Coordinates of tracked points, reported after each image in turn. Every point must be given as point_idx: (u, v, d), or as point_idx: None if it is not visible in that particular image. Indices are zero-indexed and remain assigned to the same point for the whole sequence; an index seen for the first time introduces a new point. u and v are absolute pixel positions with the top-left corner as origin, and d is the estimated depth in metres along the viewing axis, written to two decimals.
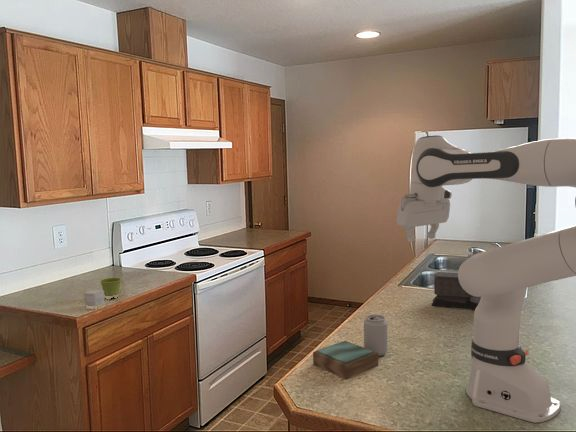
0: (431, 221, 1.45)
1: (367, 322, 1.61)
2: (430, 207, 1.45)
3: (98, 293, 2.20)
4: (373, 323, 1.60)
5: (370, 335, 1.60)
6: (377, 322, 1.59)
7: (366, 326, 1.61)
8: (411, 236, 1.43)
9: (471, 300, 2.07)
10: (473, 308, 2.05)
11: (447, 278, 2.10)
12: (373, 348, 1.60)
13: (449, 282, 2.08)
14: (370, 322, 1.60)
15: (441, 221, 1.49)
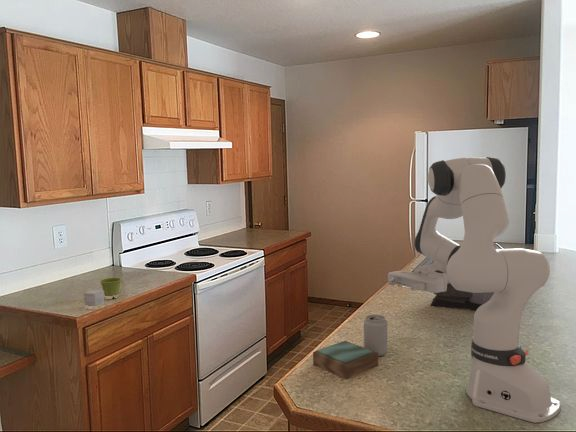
0: (415, 277, 1.72)
1: (367, 322, 1.61)
2: (420, 276, 1.75)
3: (98, 293, 2.20)
4: (373, 323, 1.60)
5: (370, 335, 1.60)
6: (377, 322, 1.59)
7: (366, 326, 1.61)
8: None
9: (470, 300, 2.07)
10: (472, 308, 2.04)
11: None
12: (373, 348, 1.60)
13: None
14: (370, 322, 1.60)
15: (426, 280, 1.68)
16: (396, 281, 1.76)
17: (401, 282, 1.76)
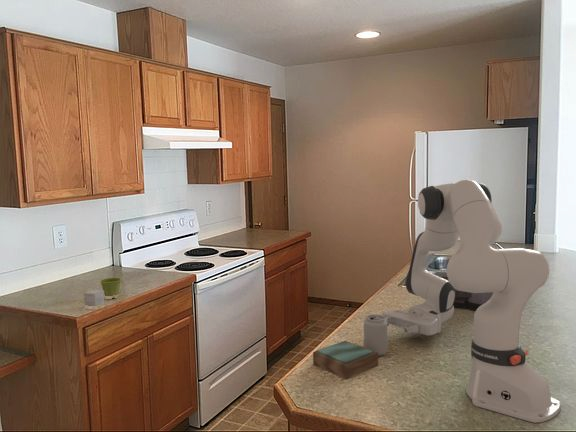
0: (409, 319, 1.71)
1: (367, 322, 1.61)
2: (414, 316, 1.74)
3: (98, 293, 2.20)
4: (373, 323, 1.60)
5: (370, 335, 1.60)
6: (377, 322, 1.59)
7: (366, 326, 1.61)
8: None
9: (469, 300, 2.07)
10: (471, 308, 2.04)
11: (445, 278, 2.10)
12: (373, 348, 1.60)
13: None
14: (370, 322, 1.60)
15: (420, 322, 1.67)
16: (390, 321, 1.76)
17: (395, 322, 1.75)
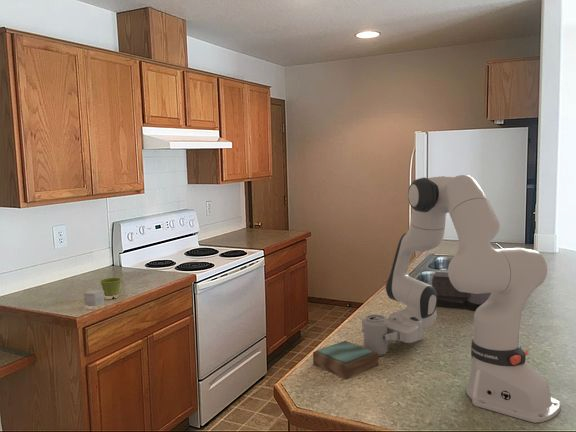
0: (388, 325, 1.65)
1: (367, 322, 1.61)
2: (395, 323, 1.68)
3: (98, 293, 2.20)
4: (373, 323, 1.60)
5: (370, 335, 1.60)
6: (377, 322, 1.59)
7: (366, 326, 1.61)
8: None
9: (469, 300, 2.07)
10: (470, 308, 2.04)
11: (445, 278, 2.10)
12: (373, 348, 1.60)
13: (446, 282, 2.09)
14: (370, 322, 1.60)
15: (400, 329, 1.61)
16: None
17: None
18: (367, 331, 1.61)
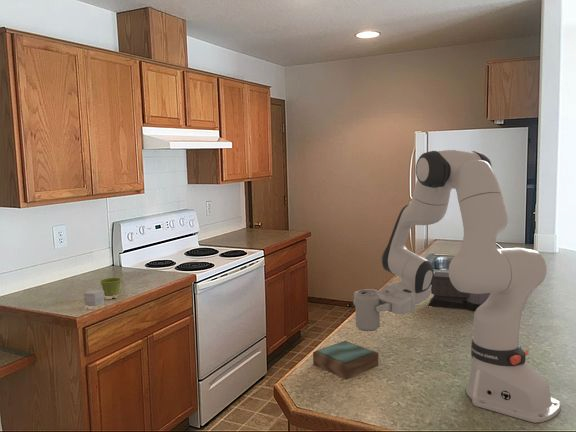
0: (381, 297, 1.61)
1: (359, 296, 1.57)
2: (387, 295, 1.64)
3: (98, 293, 2.20)
4: (365, 297, 1.56)
5: (362, 310, 1.56)
6: (369, 296, 1.56)
7: (358, 301, 1.57)
8: None
9: (468, 300, 2.07)
10: (469, 308, 2.04)
11: (444, 278, 2.10)
12: (365, 323, 1.56)
13: (445, 282, 2.09)
14: (362, 296, 1.57)
15: (392, 301, 1.57)
16: None
17: None
18: (359, 306, 1.57)
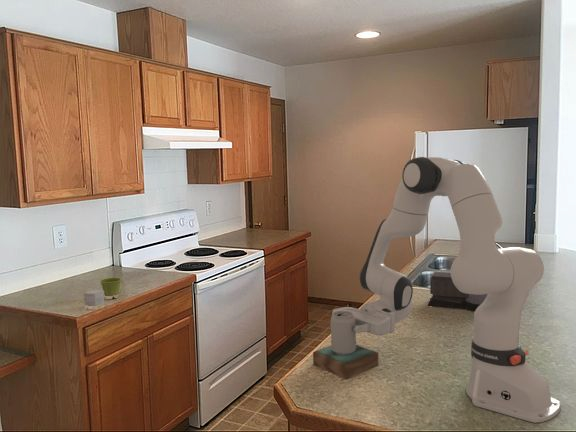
0: (359, 317, 1.55)
1: (334, 319, 1.51)
2: (366, 314, 1.58)
3: (98, 293, 2.20)
4: (340, 320, 1.50)
5: (337, 333, 1.50)
6: (345, 319, 1.50)
7: (333, 323, 1.51)
8: None
9: (467, 300, 2.07)
10: (468, 308, 2.05)
11: (443, 278, 2.10)
12: (341, 347, 1.50)
13: (444, 282, 2.09)
14: (337, 319, 1.51)
15: (370, 321, 1.51)
16: None
17: None
18: (334, 328, 1.51)
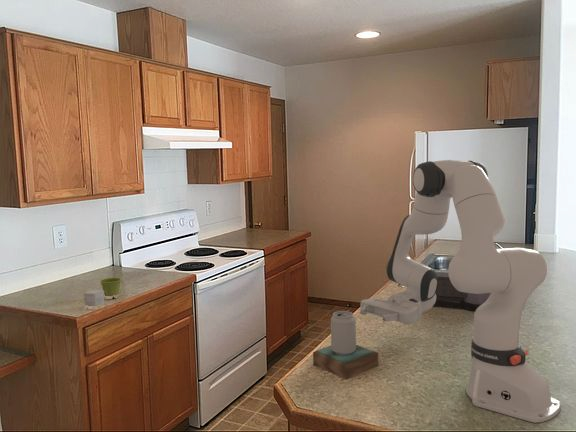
0: (387, 307, 1.63)
1: (334, 319, 1.51)
2: (394, 305, 1.66)
3: (98, 293, 2.20)
4: (340, 320, 1.50)
5: (337, 333, 1.50)
6: (345, 319, 1.50)
7: (333, 323, 1.51)
8: None
9: (465, 300, 2.07)
10: (467, 308, 2.04)
11: (442, 278, 2.10)
12: (341, 347, 1.50)
13: (443, 282, 2.09)
14: (337, 319, 1.51)
15: (399, 310, 1.59)
16: (369, 310, 1.68)
17: (374, 311, 1.67)
18: (334, 328, 1.51)
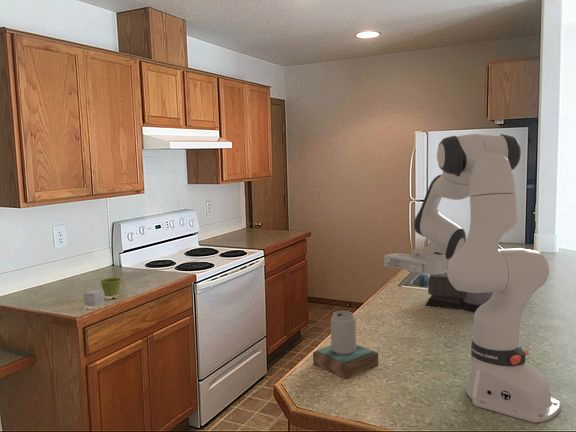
0: (412, 259, 1.63)
1: (334, 319, 1.51)
2: (418, 258, 1.67)
3: (98, 293, 2.20)
4: (340, 320, 1.50)
5: (337, 333, 1.50)
6: (345, 319, 1.50)
7: (333, 323, 1.51)
8: None
9: (464, 300, 2.07)
10: (466, 308, 2.04)
11: (441, 278, 2.10)
12: (341, 347, 1.50)
13: (442, 282, 2.09)
14: (337, 319, 1.51)
15: (424, 262, 1.59)
16: (392, 263, 1.68)
17: (398, 264, 1.68)
18: (334, 328, 1.51)
